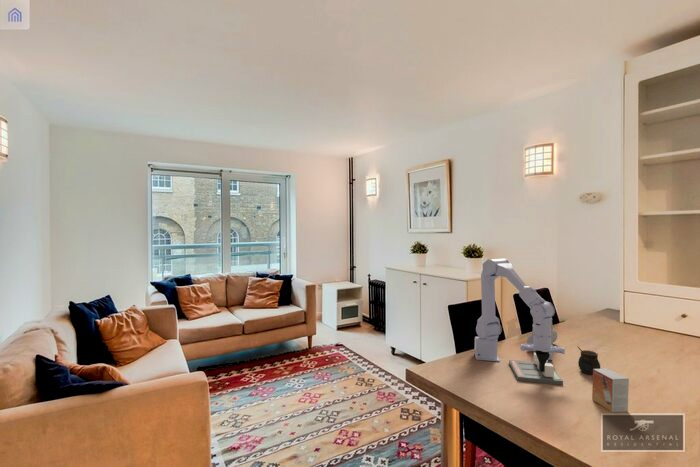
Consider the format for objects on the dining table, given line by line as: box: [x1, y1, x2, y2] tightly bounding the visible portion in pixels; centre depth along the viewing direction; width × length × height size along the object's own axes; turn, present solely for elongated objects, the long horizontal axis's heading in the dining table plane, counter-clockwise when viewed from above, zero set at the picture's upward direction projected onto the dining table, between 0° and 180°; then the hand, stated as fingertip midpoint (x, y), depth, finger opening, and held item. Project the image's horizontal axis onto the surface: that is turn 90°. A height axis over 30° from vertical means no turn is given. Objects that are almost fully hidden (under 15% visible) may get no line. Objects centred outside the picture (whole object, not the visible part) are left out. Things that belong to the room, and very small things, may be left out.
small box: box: [591, 368, 630, 413], centre depth 111 cm, size 8×6×10 cm
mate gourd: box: [577, 346, 601, 376], centre depth 137 cm, size 7×8×10 cm
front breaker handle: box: [543, 362, 555, 377], centre depth 130 cm, size 3×3×4 cm
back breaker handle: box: [533, 352, 537, 365], centre depth 141 cm, size 3×3×4 cm
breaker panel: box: [508, 359, 564, 386], centre depth 136 cm, size 15×17×2 cm
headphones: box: [526, 316, 559, 344], centre depth 165 cm, size 20×8×19 cm, turn 136°
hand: (541, 370), depth 130 cm, fingers closed
